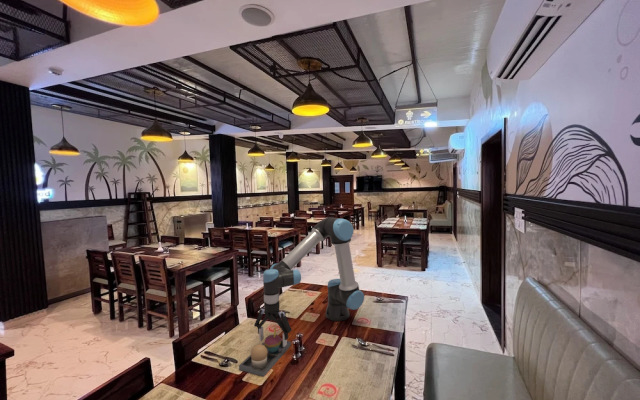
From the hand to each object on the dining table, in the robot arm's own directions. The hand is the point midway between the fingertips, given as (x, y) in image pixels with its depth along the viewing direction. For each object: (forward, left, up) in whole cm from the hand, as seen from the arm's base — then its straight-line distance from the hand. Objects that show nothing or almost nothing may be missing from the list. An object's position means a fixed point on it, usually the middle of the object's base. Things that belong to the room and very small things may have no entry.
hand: (273, 342), depth 139 cm
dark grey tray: (0, +6, -5) cm, 8 cm away
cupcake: (0, 0, -4) cm, 4 cm away
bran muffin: (0, +12, -4) cm, 13 cm away
